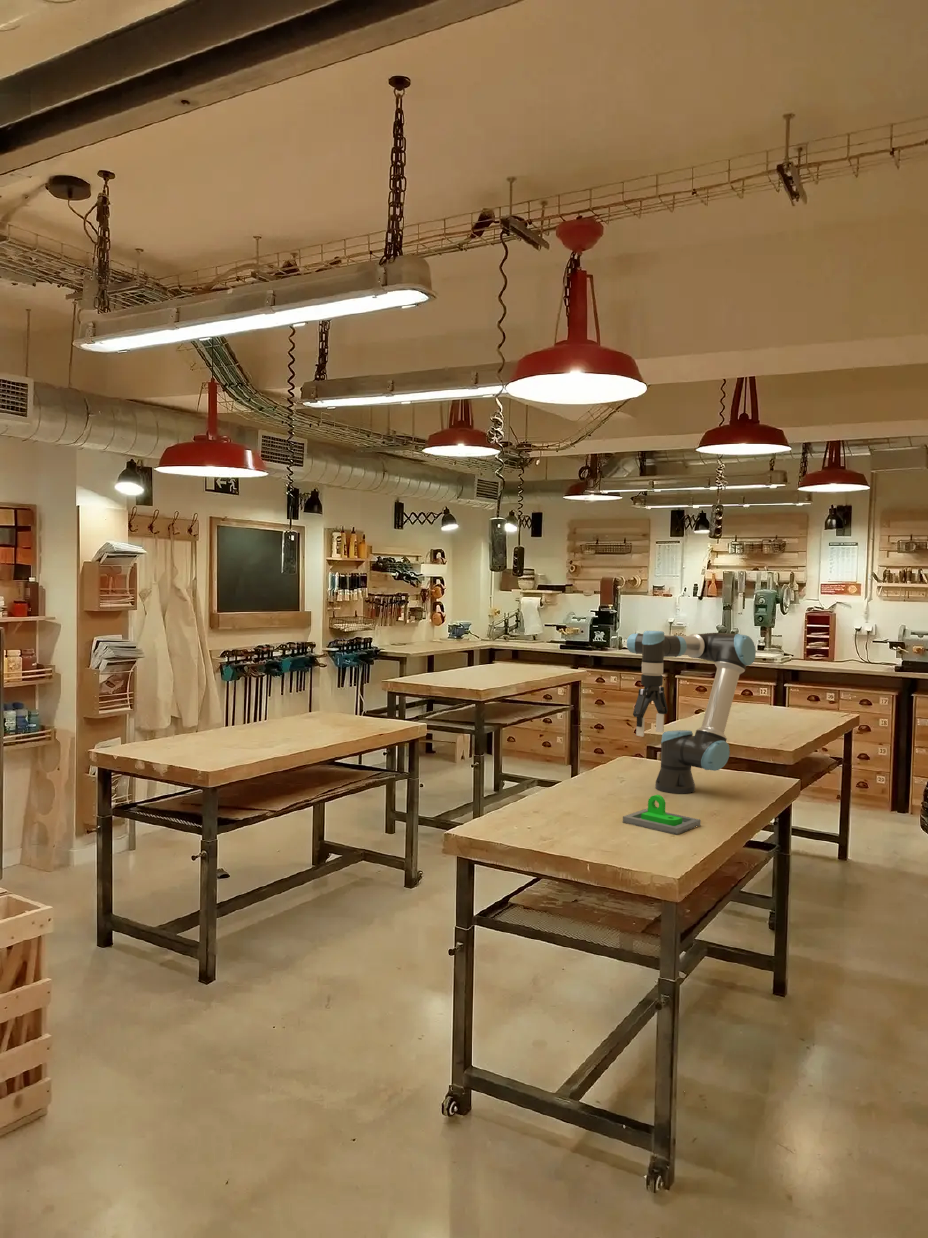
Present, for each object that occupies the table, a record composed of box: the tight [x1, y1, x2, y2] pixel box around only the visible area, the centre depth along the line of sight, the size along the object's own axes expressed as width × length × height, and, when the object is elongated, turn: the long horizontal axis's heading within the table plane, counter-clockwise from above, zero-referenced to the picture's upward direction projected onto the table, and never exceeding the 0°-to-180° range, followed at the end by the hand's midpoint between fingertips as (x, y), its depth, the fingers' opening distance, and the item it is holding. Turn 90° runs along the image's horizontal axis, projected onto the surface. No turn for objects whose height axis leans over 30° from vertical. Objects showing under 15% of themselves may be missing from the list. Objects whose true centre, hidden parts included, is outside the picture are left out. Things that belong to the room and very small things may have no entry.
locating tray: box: [622, 807, 702, 836], centre depth 292 cm, size 16×20×2 cm
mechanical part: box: [641, 794, 682, 826], centre depth 292 cm, size 12×6×8 cm, turn 47°
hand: (650, 734), depth 311 cm, fingers open, 13 cm apart
